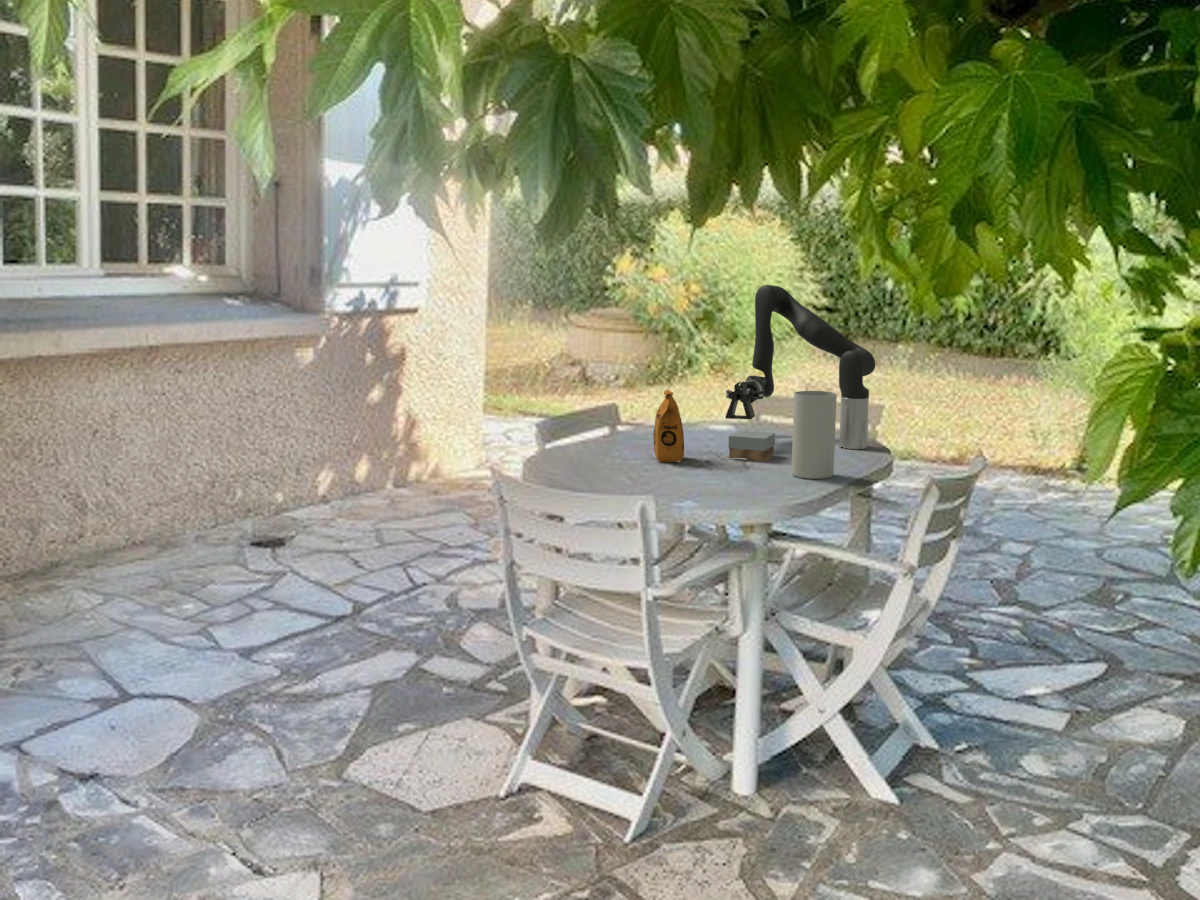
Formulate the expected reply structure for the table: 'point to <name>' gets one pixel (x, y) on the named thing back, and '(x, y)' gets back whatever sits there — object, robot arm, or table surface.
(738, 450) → the bottom slab
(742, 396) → the black triangular frame
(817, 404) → the cylinder vase
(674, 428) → the coffee package
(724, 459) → the table surface
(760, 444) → the top slab
